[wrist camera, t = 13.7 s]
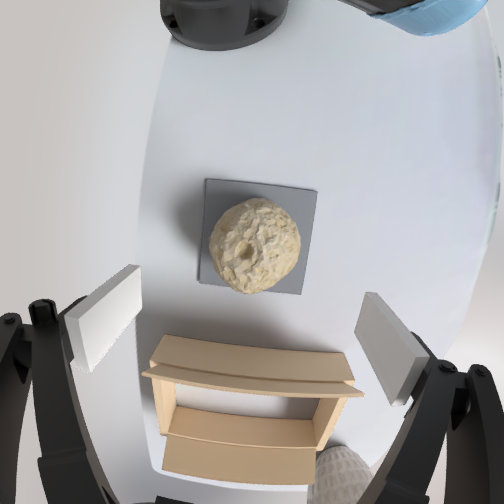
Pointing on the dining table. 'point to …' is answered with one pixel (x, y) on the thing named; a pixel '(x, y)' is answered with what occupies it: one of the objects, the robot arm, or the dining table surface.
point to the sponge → (254, 245)
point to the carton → (243, 427)
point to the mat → (289, 199)
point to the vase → (339, 477)
